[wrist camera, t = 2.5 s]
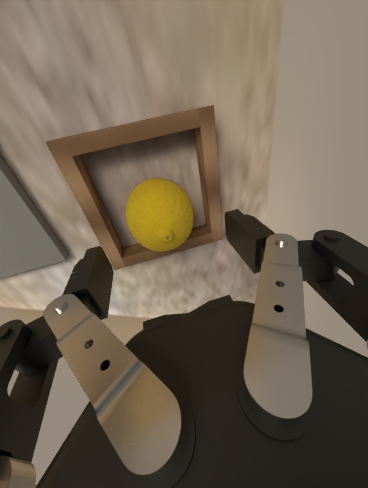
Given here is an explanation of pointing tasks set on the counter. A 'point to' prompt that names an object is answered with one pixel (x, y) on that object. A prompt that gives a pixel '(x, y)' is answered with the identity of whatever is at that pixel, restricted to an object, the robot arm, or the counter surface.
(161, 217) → the lemon
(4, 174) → the grey rectangular plate
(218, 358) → the robot arm
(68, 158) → the walnut collar
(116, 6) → the counter surface
